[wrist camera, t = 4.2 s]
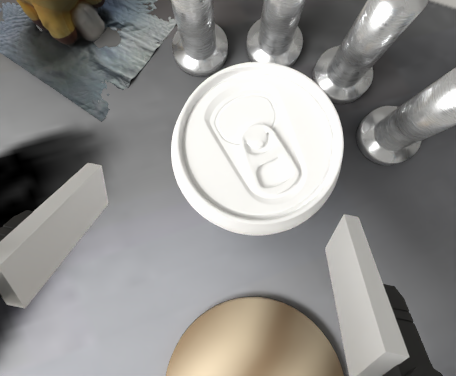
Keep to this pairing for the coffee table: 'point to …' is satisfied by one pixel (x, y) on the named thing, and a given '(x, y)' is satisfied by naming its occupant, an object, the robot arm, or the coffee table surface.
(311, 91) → the beverage can
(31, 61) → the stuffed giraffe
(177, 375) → the cork coaster
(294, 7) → the posts
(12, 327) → the coffee table surface
